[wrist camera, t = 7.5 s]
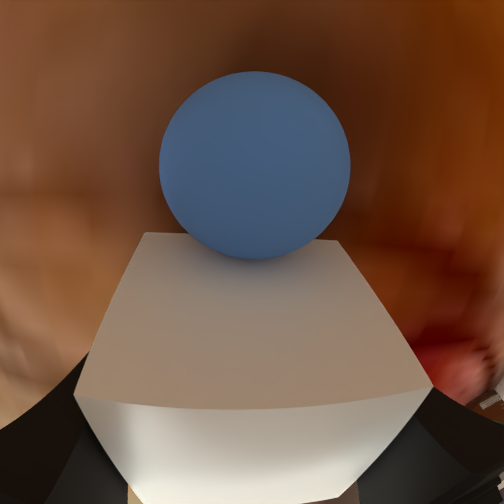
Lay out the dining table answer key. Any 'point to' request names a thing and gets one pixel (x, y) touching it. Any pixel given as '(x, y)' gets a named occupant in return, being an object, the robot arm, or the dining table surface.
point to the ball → (254, 165)
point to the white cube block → (246, 375)
